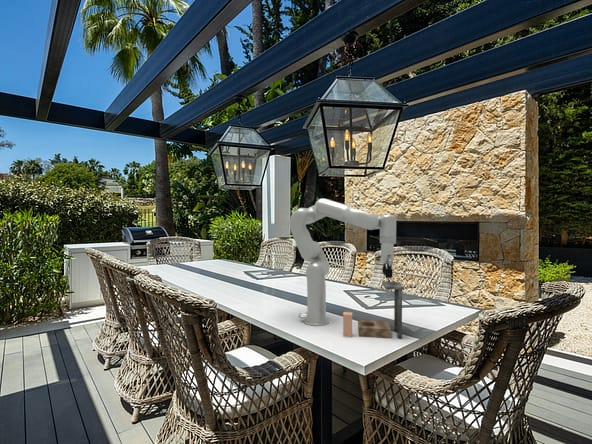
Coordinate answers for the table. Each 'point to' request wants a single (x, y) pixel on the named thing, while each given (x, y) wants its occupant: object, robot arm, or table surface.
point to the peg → (347, 324)
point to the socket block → (382, 327)
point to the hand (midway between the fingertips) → (387, 275)
